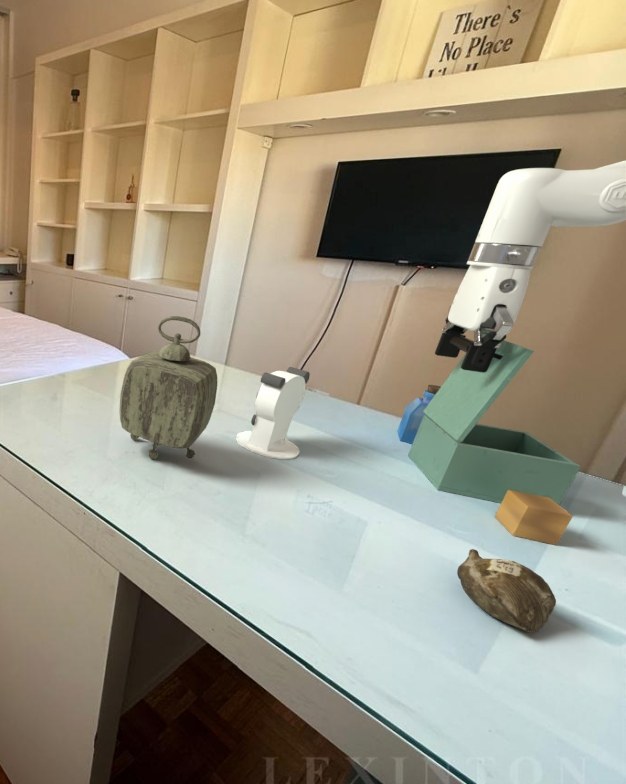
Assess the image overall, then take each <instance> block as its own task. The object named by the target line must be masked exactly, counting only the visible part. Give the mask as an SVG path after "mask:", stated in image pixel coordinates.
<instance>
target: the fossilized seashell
mask: <svg viewBox="0 0 626 784" xmlns="http://www.w3.org/2000/svg"><path fill="white" fill-rule="evenodd" d="M456 572H457V573H456V574H457V577H458V579H459V580H460V584H461V587H462V589H463V591H464V593H465V594H466V596H467V597H468V598H469V599H470V600H471V601H472V602H473V603H475V604H476V605H477V606H478V607H479V608H481V609H482V610H483V611H484V612H486V613H487V614H489V615H491V617H494V618H496V619H497V620H500V621H502V623H505V624H508V625H511V626H513V627H515V628H518V629H520V630H523V631H526V632H528V633H535V632H538V631H539V630H541V629H543V627H544V626H545V624H546V623H547V622H548V621H549V617H550V616H551V615H552V612H553V611H554V609H555V607H556V604H557V599H556V597H555V594H554V593H553V591H552V589H551V587H550V585H549V583H548V582H547V581H545V579H544V578H543V577H542V576H541V575H539V574H538V573H536V572H535V571H534V570H532V569H531V568H529V567H527V566H525V565H523V564H521V563H519V562H517V561H514V560H511V559H503V558H483V557H482V556H480V553H479V551H478V550H477V549H474V548H471V549H469V552H468V556H467V558H466V559H465V560H464V561H463V562H462V563H460V565H459V566H458V567H457V571H456Z"/></svg>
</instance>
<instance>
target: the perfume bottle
mask: <svg viewBox="0 0 626 784" xmlns="http://www.w3.org/2000/svg"><path fill="white" fill-rule="evenodd" d="M441 386H442V385H441ZM441 386H440V385H436V384H428V385H427V389H425V390H424V392H423V394H422V396H424V397H423V398H422V397H417V398H415V399H413V401H411V402H410V403H408V404H407V405H406V407H405V410H404V411H403V415H402V418H401V420H400V423H399V425H398V428H397V430H396V432H397V435H398V436H397V437H398V438H399V441H400V442H403V443H407V444H411V445H412V444H413V441H414V439H415V437H416V434H417V432H418V429H419V427H420V424H421V422H422V419H423V417H424V415H426V414H425V413H424V412H423V411H424V410H425V408H426V407H427V405H428V404H429V403H430V401H431V400H432V399H433V397H434V396H435V395H436V393H437V392H438V390H439V389H440V388H441Z"/></svg>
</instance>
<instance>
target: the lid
mask: <svg viewBox="0 0 626 784" xmlns="http://www.w3.org/2000/svg"><path fill="white" fill-rule="evenodd" d="M485 335H487V334H483V337H484V336H485ZM450 344H451V345H452V346H453V347H455V348H457V349H460V351H461V352H464V353H465V354H464V355H463V356H462V358H461V359H460V360H459V362H458V363H457V365H456V366H455V367H454V369H452V370H451V371H452V372H450V374H449V375H448V376H447V378H446V379H445V380H444V382H443V384H442V385H441V388H440V389H439V390H438V392H437V393H436V395H435V396H434V397H433V399H432V400H431V401H430V403H429V404H428V405H427V407H426V408H425V410H424V411H423V412H424V413H425V414H426V415H427V416H429V417H430V418H431V419H432V420H433V421H434V422H436V423H437V424H438V425H439V426H440V427H441V428H443V429H444V430H445V431H446V432H447V433H449V434H450V435H451V436H452V437H453V438H454V439H456V440H457V441H459V442H462V441H463V440H464V439H465V437H466V436H467V435H468V434H469V432H470V431H471V430H472V429H473V427H474V426H475V425H476V424H478V423H479V421H480V420H481V419H482V417H483V416H484V415H485V414H486V412H487V411H488V410H489V409H490V407H491V406H492V405H493V404H494V402H495V401H496V400H497V399H498V397H499V396H500V395H502V393H503V391H504V390H505V389H506V387H508V385H509V384H510V383H511V381H512V380H513V379H514V377H515V376H516V375H517V374H518V373H519V371H520V370H521V369H522V367H523V366H524V365H525V364H526V362H527V361H529V359H530V357H531V356H532V355H533V354H534V352H535V350H532V349H529V348H527V347H524V346H522V345H518V344H516V343H513V342H511V341H508V340H505V339H504V340H503V341H502V342H501V345H500V347H499V348H498V349H497V350H496V352H495V354H494V356H493V359H492V361H491V363H490V366H489V368H488V370H487V372H484V373H483V372H476V371H468V370H463V369H462V368H461V365H462V363H463V360H464V358H465V356H466V353H467V351H468V348H469V346H470V345H474V340H472V339H471V338H467V337H463V336H454V337H453V338H452V339H451V340H450Z"/></svg>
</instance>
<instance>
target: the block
mask: <svg viewBox="0 0 626 784" xmlns="http://www.w3.org/2000/svg"><path fill="white" fill-rule="evenodd" d="M573 517H574V516H573V515H572V514H571V513H570V512H568V511H567V510H566V509H565V508H563V507H562V506H561V505H558V504H557V503H556V502H554V501H553V500H552V499H551V498H548V497H543V496H538V495H533V494H528V493H523V492H518V491H513V490H508V491H507V493H506V495H505V497H504V499H503V501H502V503H500V505H499V507H498V509H497V511H496V513H495V515H494V519H496V520H497V522H499V524H501V526H503V527H504V528H505V530H506V531H508V532H509V533H510V534H511V536H513V537H518V538H521V539H527V540H531V541H535V542H540V543H545V544H549V545H554V546H557V544H558V543H559V541H560V539H561V538H562V536H563V534H564V532H565V531H566V529H567V527H568V526H569V524H570V522H571V520H572V519H573Z"/></svg>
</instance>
